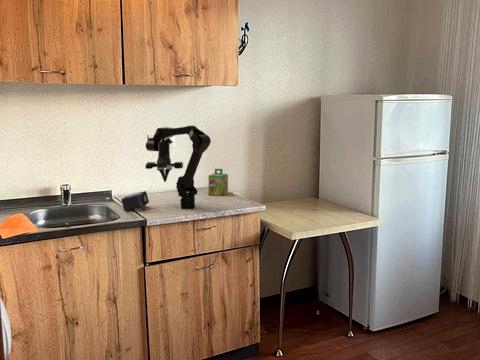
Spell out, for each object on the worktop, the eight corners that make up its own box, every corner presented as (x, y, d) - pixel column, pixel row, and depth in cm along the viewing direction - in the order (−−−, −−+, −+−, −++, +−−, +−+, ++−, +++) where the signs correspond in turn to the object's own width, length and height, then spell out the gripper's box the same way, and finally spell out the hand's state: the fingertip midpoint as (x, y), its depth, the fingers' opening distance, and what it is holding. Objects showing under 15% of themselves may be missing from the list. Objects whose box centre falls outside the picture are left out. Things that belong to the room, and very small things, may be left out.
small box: (140, 194, 229) (120, 198, 230) (144, 206, 230) (124, 211, 231) (145, 190, 239) (126, 194, 240) (149, 202, 240) (129, 206, 241)
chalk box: (208, 195, 267) (207, 169, 264) (213, 192, 276) (213, 167, 273) (223, 196, 264) (223, 170, 262) (228, 193, 273) (228, 168, 270)
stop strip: (145, 206, 241) (145, 203, 241) (139, 211, 230) (139, 209, 229) (140, 206, 241) (140, 203, 241) (134, 211, 230) (134, 209, 229)
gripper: (142, 153, 233) (143, 184, 235) (179, 153, 232) (180, 184, 235) (147, 151, 244) (148, 180, 246) (182, 151, 243) (183, 180, 246)
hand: (165, 181), depth 243 cm, fingers closed
